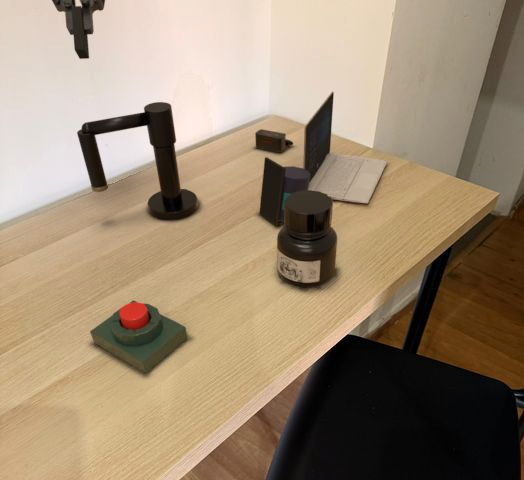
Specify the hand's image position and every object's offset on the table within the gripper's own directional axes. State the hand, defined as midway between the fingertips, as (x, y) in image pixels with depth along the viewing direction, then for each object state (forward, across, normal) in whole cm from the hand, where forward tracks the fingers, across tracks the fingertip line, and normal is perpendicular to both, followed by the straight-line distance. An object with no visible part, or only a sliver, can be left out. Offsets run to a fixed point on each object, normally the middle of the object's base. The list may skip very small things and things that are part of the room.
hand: (82, 54), depth 83 cm
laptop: (+17, -45, -19) cm, 51 cm away
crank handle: (+18, -6, -8) cm, 20 cm away
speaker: (+25, -31, -10) cm, 41 cm away
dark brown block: (+6, -32, -31) cm, 45 cm away
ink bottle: (+36, -33, +3) cm, 49 cm away
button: (+42, -8, +15) cm, 46 cm away
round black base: (+21, -11, -14) cm, 28 cm away
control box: (+45, -8, +13) cm, 47 cm away
